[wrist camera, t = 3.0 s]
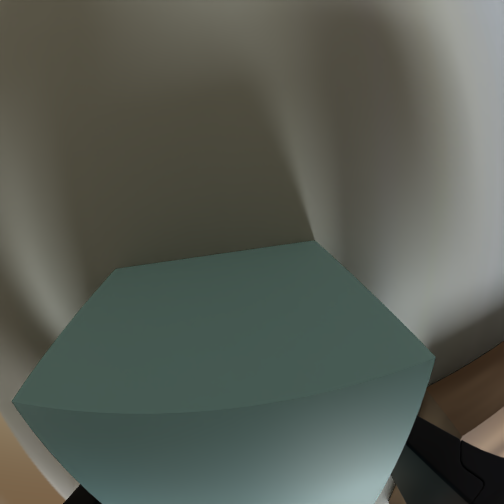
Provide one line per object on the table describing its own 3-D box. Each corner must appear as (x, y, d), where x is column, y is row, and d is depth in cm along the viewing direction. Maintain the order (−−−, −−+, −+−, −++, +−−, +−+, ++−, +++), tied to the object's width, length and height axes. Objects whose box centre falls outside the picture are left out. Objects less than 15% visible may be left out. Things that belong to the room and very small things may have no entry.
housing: (312, 469, 11) (338, 555, 6) (205, 483, 10) (208, 572, 6) (312, 238, 7) (436, 357, 3) (117, 266, 7) (11, 401, 2)
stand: (517, 420, 14) (533, 439, 11) (388, 501, 14) (401, 529, 11) (570, 284, 10) (599, 301, 7) (425, 388, 9) (462, 436, 7)
